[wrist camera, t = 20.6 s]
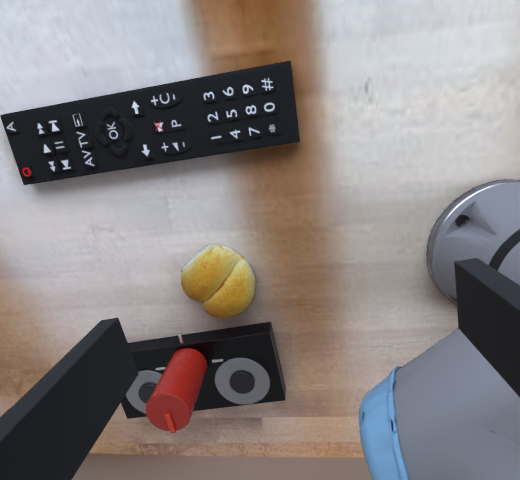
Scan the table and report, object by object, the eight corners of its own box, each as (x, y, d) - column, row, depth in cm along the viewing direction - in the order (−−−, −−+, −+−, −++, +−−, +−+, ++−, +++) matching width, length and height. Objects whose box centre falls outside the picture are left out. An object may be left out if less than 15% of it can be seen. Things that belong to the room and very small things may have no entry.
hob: (267, 309, 43) (266, 320, 40) (285, 386, 46) (285, 401, 43) (108, 334, 46) (97, 346, 43) (135, 405, 49) (126, 419, 46)
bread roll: (226, 321, 44) (220, 339, 40) (175, 274, 42) (163, 288, 39) (272, 281, 42) (270, 296, 38) (219, 230, 40) (212, 240, 37)
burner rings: (263, 353, 42) (263, 356, 41) (275, 399, 44) (274, 403, 43) (118, 373, 44) (116, 376, 44) (135, 416, 46) (133, 419, 46)
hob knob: (165, 350, 43) (137, 399, 35) (202, 345, 42) (182, 393, 34) (176, 382, 44) (151, 436, 36) (211, 377, 43) (194, 431, 36)
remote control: (8, 116, 38) (-6, 115, 37) (290, 63, 35) (290, 59, 33) (31, 183, 41) (18, 185, 39) (299, 141, 37) (299, 141, 35)
